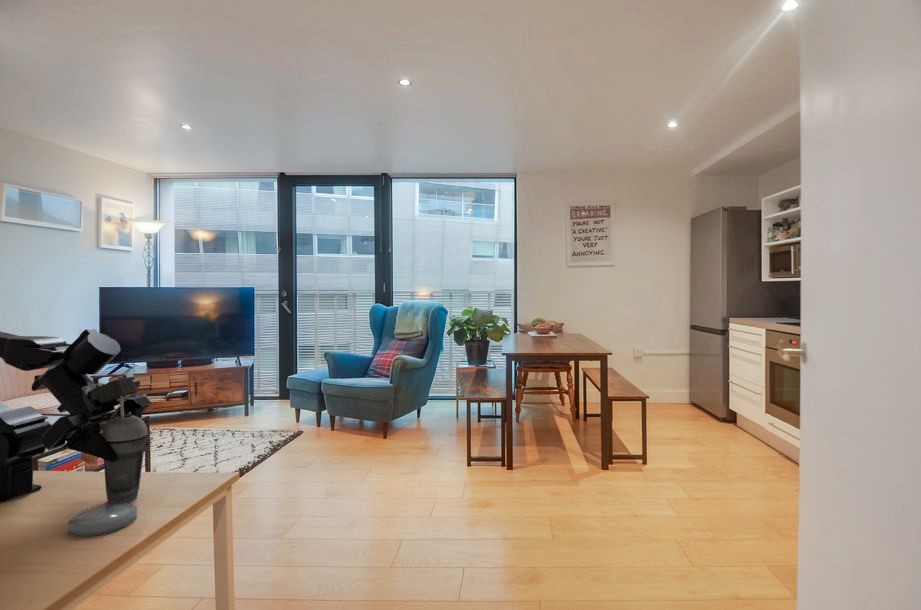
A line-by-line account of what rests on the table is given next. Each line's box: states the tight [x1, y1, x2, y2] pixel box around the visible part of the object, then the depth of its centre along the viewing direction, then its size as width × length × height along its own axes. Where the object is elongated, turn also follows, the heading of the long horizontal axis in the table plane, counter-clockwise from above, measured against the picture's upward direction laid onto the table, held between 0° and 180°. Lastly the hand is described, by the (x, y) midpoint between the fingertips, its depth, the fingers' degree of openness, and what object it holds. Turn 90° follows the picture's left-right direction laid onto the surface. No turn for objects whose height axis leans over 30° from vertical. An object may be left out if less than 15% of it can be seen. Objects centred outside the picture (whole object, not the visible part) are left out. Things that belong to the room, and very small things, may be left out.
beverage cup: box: [101, 396, 149, 505], centre depth 83 cm, size 7×7×20 cm
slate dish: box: [67, 503, 138, 538], centre depth 75 cm, size 9×9×1 cm
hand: (131, 453), depth 83 cm, fingers closed on beverage cup, 7 cm apart
